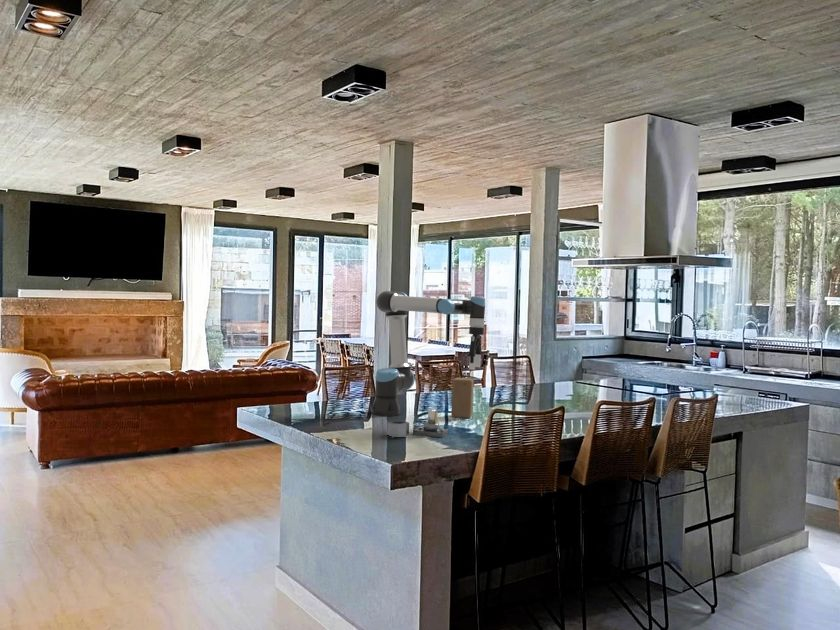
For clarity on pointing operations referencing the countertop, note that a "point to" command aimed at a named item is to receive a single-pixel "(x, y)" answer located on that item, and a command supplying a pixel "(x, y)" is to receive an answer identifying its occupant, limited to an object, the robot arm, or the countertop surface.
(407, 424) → the hub
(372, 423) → the countertop surface
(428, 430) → the shaft stand
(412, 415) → the countertop surface
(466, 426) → the countertop surface
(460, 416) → the wooden block
